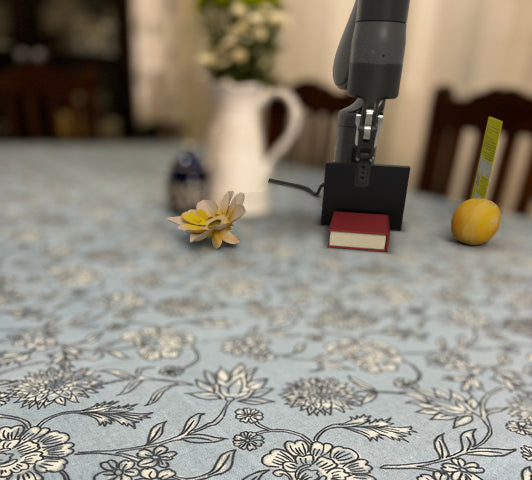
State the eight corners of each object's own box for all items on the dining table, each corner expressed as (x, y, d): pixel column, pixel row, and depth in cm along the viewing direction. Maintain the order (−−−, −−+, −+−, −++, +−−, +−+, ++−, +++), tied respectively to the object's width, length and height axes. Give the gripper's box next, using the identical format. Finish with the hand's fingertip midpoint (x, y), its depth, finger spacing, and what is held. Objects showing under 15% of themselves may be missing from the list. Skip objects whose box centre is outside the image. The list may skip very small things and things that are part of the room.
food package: (481, 226, 107) (505, 121, 98) (476, 226, 108) (499, 121, 98) (471, 210, 121) (491, 116, 111) (466, 210, 121) (486, 116, 111)
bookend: (400, 230, 103) (410, 167, 97) (320, 224, 105) (325, 162, 99) (399, 222, 109) (408, 162, 103) (323, 216, 111) (328, 157, 105)
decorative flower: (159, 222, 96) (169, 167, 92) (216, 231, 101) (228, 180, 97) (179, 251, 85) (192, 190, 80) (242, 260, 90) (257, 203, 85)
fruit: (488, 252, 91) (499, 207, 88) (442, 244, 95) (451, 200, 91) (498, 241, 98) (508, 198, 94) (455, 234, 102) (463, 192, 98)
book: (387, 252, 90) (390, 233, 89) (327, 247, 92) (328, 229, 90) (386, 231, 102) (388, 215, 101) (333, 227, 104) (334, 211, 102)
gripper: (404, 61, 67) (385, 196, 76) (401, 62, 79) (385, 180, 87) (347, 59, 69) (334, 192, 77) (352, 60, 80) (340, 176, 88)
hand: (361, 185), depth 82 cm, fingers closed
